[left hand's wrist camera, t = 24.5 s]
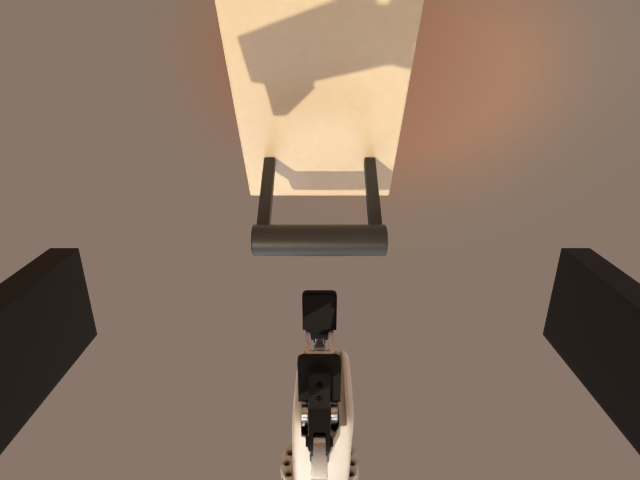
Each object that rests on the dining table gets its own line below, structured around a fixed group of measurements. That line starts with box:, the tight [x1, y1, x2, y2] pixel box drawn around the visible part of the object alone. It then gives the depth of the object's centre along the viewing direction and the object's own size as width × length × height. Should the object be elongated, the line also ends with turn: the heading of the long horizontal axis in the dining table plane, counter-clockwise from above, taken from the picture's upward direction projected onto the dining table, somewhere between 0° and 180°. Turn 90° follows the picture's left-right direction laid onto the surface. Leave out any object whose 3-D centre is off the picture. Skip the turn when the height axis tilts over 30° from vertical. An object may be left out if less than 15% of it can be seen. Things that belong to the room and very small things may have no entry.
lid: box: [215, 0, 424, 256], centre depth 23 cm, size 17×10×8 cm
